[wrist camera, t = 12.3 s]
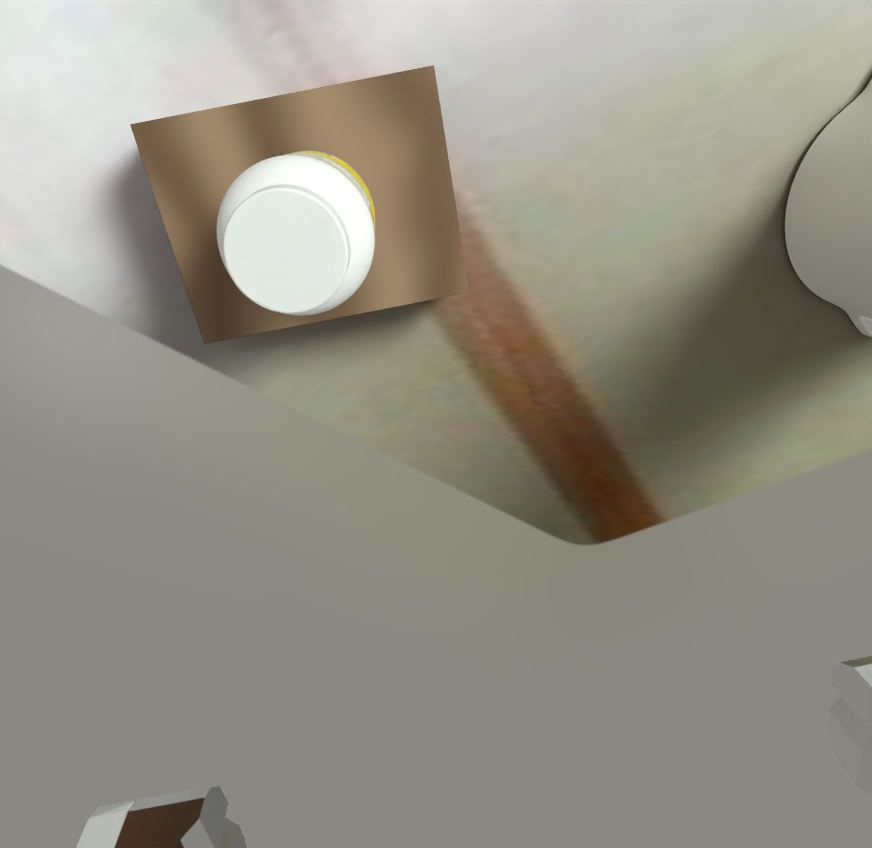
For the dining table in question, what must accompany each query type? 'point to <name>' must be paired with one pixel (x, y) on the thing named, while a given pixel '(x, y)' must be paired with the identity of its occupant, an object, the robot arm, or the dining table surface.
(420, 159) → the walnut stand
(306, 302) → the supplement bottle
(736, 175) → the dining table surface
